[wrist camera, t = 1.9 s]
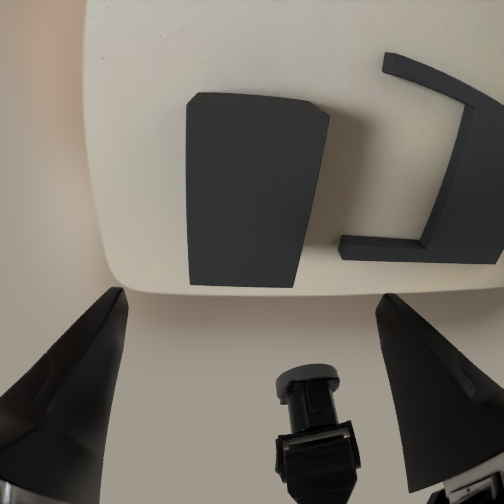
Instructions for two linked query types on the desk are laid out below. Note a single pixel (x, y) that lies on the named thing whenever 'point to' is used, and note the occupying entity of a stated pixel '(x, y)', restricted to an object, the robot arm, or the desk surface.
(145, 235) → the desk surface
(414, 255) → the base pad
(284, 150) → the foam pad
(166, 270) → the desk surface
